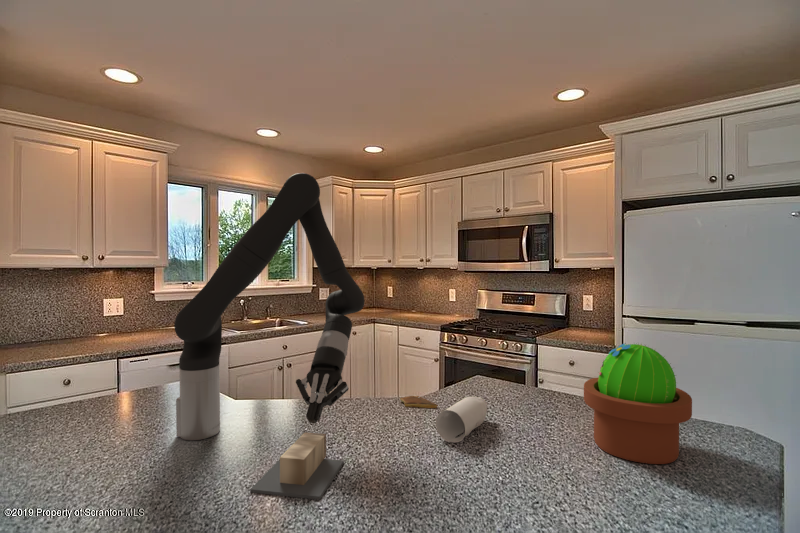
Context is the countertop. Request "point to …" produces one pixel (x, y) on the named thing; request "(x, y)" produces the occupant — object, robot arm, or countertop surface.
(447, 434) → the hollow grey tube
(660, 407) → the potted cactus
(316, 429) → the countertop surface
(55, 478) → the countertop surface
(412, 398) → the shard
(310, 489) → the mat
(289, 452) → the maple block
